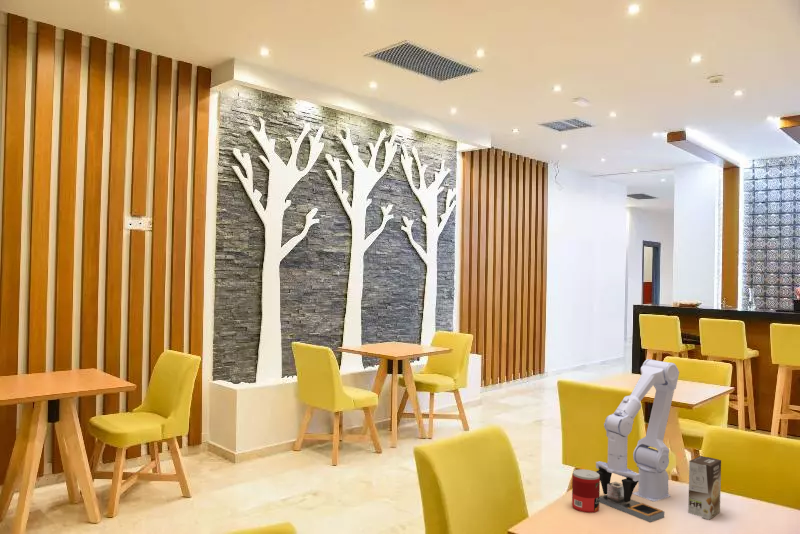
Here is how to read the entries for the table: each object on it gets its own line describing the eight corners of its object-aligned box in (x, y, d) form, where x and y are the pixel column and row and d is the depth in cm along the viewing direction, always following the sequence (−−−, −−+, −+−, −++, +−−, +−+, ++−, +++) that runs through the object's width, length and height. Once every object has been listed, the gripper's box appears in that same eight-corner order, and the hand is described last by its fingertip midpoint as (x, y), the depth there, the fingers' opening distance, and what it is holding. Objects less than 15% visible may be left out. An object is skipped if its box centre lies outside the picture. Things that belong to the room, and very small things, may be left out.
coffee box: (710, 520, 180) (711, 466, 180) (687, 514, 185) (688, 460, 185) (720, 512, 187) (721, 459, 187) (698, 506, 191) (699, 454, 191)
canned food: (600, 515, 182) (601, 478, 182) (572, 512, 184) (573, 476, 184) (597, 505, 190) (598, 470, 190) (571, 503, 192) (571, 468, 192)
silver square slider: (615, 500, 193) (615, 481, 193) (626, 504, 190) (626, 485, 190) (607, 503, 191) (607, 483, 191) (617, 507, 188) (618, 487, 188)
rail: (612, 498, 196) (612, 492, 196) (664, 518, 181) (664, 511, 181) (598, 503, 192) (598, 496, 192) (650, 523, 177) (650, 516, 177)
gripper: (590, 449, 194) (589, 492, 194) (629, 462, 182) (628, 507, 182) (604, 446, 198) (603, 488, 198) (644, 458, 186) (643, 503, 186)
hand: (616, 497), depth 191 cm, fingers open, 7 cm apart
